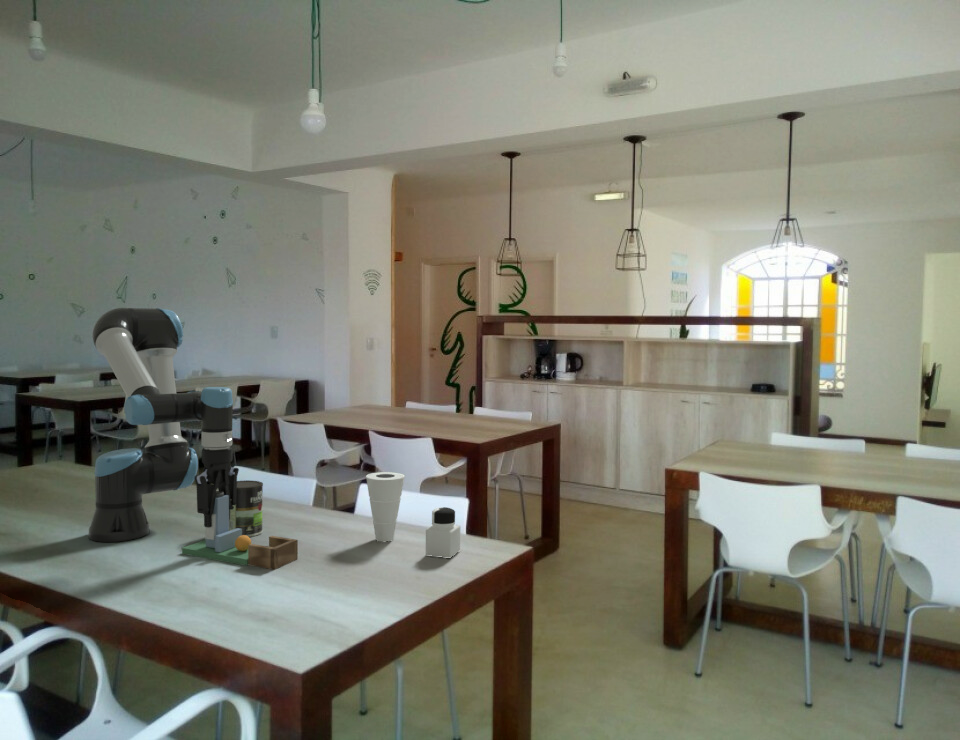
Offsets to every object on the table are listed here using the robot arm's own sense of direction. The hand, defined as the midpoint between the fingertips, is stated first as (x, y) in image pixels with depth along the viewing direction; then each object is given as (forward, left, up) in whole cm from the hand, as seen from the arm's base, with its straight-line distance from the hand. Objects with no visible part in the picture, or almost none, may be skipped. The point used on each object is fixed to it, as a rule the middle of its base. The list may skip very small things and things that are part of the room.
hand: (217, 536), depth 191 cm
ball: (+8, 0, -1) cm, 8 cm away
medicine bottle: (+53, +25, -4) cm, 59 cm away
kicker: (+1, 0, -2) cm, 3 cm away
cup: (+33, +29, -4) cm, 44 cm away
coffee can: (-6, +17, -4) cm, 19 cm away
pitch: (+3, 0, -4) cm, 5 cm away
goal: (+18, 0, -4) cm, 18 cm away
